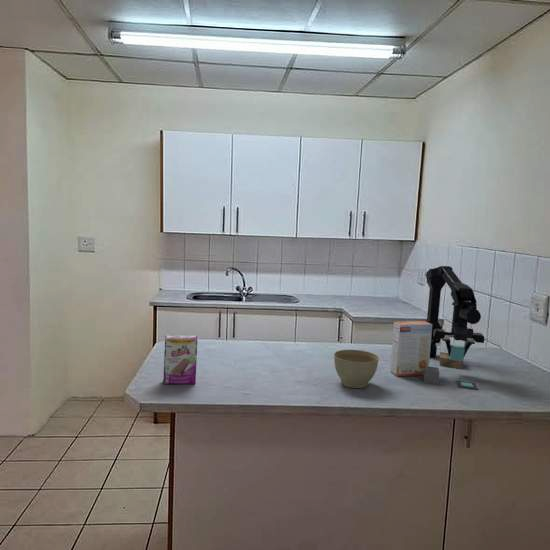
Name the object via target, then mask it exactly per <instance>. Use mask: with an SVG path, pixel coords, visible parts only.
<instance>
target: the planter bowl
mask: <svg viewBox="0 0 550 550" xmlns="http://www.w3.org/2000/svg"><path fill="white" fill-rule="evenodd" d="M333 357H334V358H333V359H334V367H335V372H336V373H337V376H338V378H339V379H340V381H341V382H340V383H341V385H343V386H345V387H347V388H350V389H351V388H353V389H363V388H366V387H368V385H369V382H370V381H371V380H372V379H373V377H374V376H375V374H376V372H377V370H378V369H377V368H378V364H379V359H380V357H379V355H377V353H374V352H370V351H367V350H361V349H341V350H337V351H335V352H334V353H333Z"/></svg>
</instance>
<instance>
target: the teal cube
mask: <svg viewBox="0 0 550 550" xmlns="http://www.w3.org/2000/svg"><path fill="white" fill-rule="evenodd" d="M464 351H465V349H464V346H463V345H456V344H454V345H453V344H450V356H449V358H450V360H454V361H462V362H463V363H464V358H465V357H464Z"/></svg>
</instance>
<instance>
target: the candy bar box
mask: <svg viewBox="0 0 550 550" xmlns="http://www.w3.org/2000/svg"><path fill="white" fill-rule="evenodd" d="M197 355H198V336H197V335H176V334H175V335H172V334H171V335H170V334H169V335H165V336H164V355H163V357H164V358H163V385H195V384H196V380H197V379H196V376H197V360H198V359H197Z"/></svg>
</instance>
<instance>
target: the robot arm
mask: <svg viewBox="0 0 550 550" xmlns="http://www.w3.org/2000/svg"><path fill="white" fill-rule="evenodd" d="M425 278H426V283H427V285H428V288H429V292H428V294H429V295H428V303H427V314H426V320H425V321H426V322H428V323H430V324H432V335H431V347H430V358H436V356H437V350H438V349H437V348H438V346H437V344H440V342H441V341H443V342H444V343H445V345H446V351H447V353H448V354H449V356H450V345H451V339H450V338H453V340H455V341H462V342H464V346H463V347H464V349H465V351H464V358H465V356H466V354H467V353H468V350H469V349H470V347H471V346H472V345H475V344H476V343H480V344H484V343H485V335H484V334H483V333H481V332H476V331H474V328H469V327H468V323H469V324H470V325H475V324H478V323H479V322H480V321H481V319H482V315H481V312H480V311H479V310H478V309H477V308H478V307H477V305H478V304H477V302H478V301H477V299H476V296H475V294H474V290H473V288H472V287H470V286H469V285H468V284H465V283H463V282H462V281H461V280H460V278H459V276H457V274H456V273H455V272H454V270H453V268H452V266H449V265H440V266H438V267H434V268H429V269H428V270H427V271H426V274H425ZM445 285H447V286H448V287H449V288H450V290H451V292H450V296H451V299H452V300H453V302H452V303H451V305H452V306H453V310H452V318H451V319H452V320H451V321H452V322H451V332H450V331H445V329H443V327H442V325H441V324H440V323H439V317H440V316H439V315H440V304H441V293H442V292H441V291H442V289H443V288H444V286H445Z"/></svg>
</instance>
